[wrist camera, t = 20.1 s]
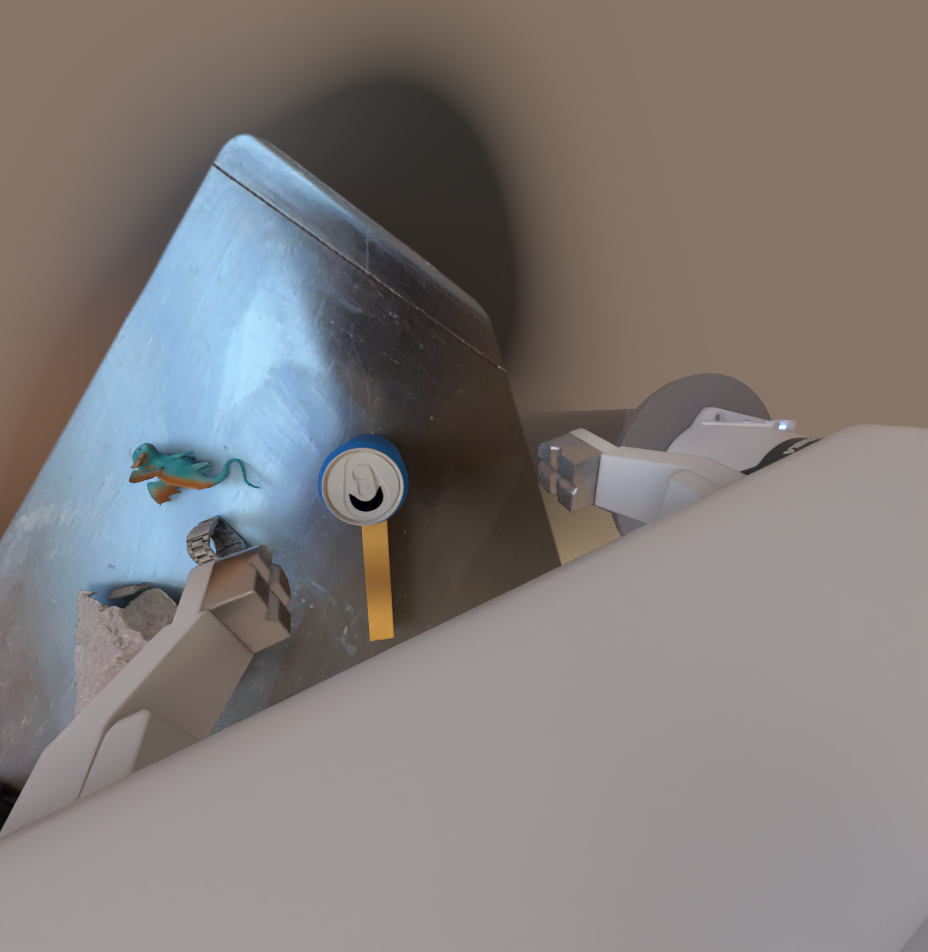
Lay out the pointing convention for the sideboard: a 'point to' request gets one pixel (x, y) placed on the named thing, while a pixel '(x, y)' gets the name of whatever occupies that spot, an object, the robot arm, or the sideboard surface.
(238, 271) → the sideboard surface
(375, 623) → the fry stick
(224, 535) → the wristwatch
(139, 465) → the dragon figurine
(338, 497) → the beverage can
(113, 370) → the sideboard surface
